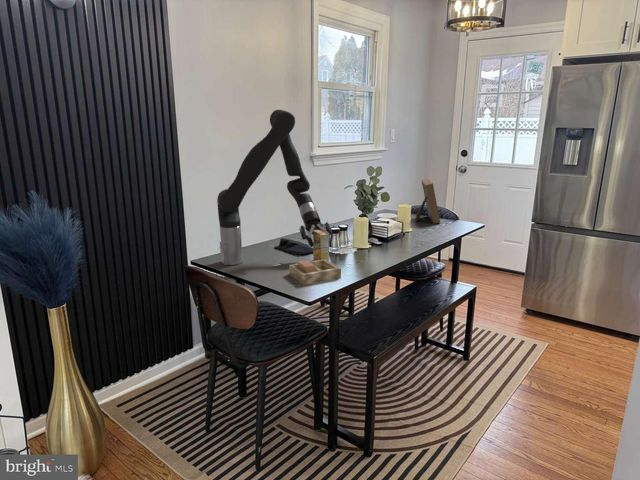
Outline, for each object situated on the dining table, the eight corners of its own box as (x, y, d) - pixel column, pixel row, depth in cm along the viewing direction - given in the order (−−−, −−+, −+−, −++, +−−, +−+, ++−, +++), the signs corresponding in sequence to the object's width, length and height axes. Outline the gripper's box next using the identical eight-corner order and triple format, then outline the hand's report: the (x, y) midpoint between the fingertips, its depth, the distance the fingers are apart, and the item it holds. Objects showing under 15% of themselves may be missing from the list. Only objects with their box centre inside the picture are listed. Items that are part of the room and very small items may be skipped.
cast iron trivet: (296, 258, 211) (296, 248, 210) (272, 248, 228) (272, 239, 226) (322, 252, 220) (322, 243, 219) (297, 243, 237) (296, 234, 235)
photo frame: (435, 216, 295) (437, 178, 288) (440, 223, 274) (442, 183, 267) (412, 216, 296) (413, 178, 290) (415, 223, 276) (417, 183, 269)
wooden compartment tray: (303, 288, 173) (303, 275, 171) (289, 277, 185) (289, 264, 183) (340, 281, 180) (341, 268, 178) (324, 271, 192) (324, 259, 190)
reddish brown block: (306, 281, 176) (306, 266, 174) (297, 275, 183) (297, 261, 181) (315, 279, 178) (315, 265, 176) (306, 273, 184) (306, 259, 183)
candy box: (312, 263, 203) (312, 230, 199) (321, 261, 204) (321, 229, 200) (321, 268, 195) (320, 234, 191) (329, 267, 197) (329, 233, 193)
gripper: (297, 211, 198) (309, 242, 191) (325, 208, 204) (338, 238, 197) (293, 220, 204) (304, 251, 197) (320, 217, 210) (332, 246, 203)
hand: (321, 244), depth 197 cm, fingers open, 8 cm apart
